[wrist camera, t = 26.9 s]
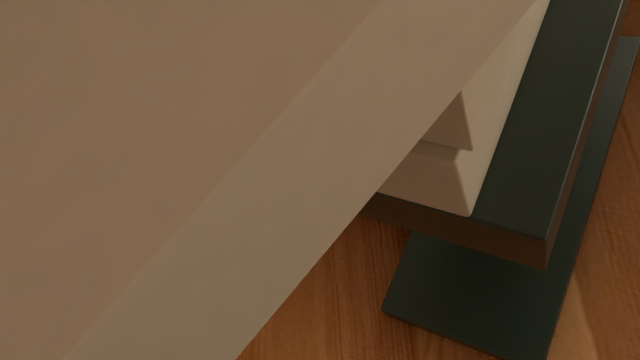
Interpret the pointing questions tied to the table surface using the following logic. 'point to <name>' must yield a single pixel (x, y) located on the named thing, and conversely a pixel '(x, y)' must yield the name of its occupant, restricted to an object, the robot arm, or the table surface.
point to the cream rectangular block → (202, 156)
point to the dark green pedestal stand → (509, 182)
